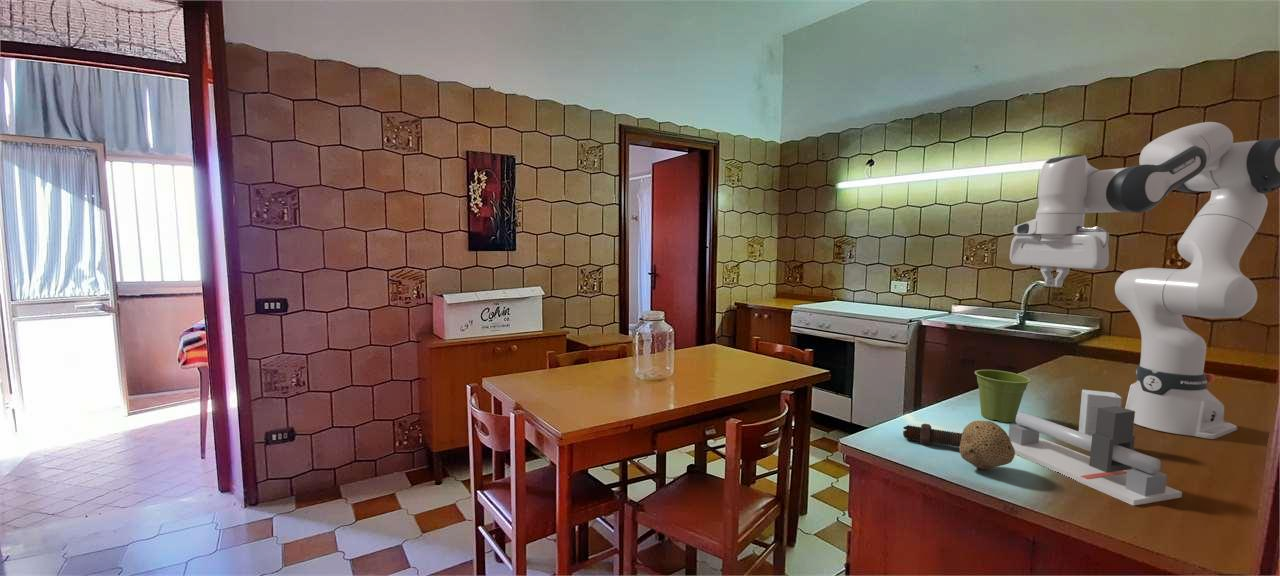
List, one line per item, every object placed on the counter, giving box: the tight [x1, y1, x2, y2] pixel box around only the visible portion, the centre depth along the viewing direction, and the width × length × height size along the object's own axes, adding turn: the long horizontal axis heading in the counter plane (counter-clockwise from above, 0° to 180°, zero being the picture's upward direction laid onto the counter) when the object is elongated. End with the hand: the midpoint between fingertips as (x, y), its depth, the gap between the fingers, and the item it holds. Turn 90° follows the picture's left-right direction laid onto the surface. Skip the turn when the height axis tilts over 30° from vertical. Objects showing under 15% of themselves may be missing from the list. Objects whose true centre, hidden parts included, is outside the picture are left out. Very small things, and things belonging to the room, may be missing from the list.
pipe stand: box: [1008, 411, 1183, 506], centre depth 105 cm, size 27×12×8 cm, turn 15°
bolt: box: [902, 423, 963, 449], centre depth 116 cm, size 6×5×15 cm
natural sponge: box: [959, 420, 1016, 471], centre depth 104 cm, size 9×9×10 cm
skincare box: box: [1078, 389, 1123, 436], centre depth 117 cm, size 6×4×12 cm
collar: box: [1089, 406, 1136, 473], centre depth 99 cm, size 3×6×11 cm, turn 105°
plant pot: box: [974, 369, 1032, 423], centre depth 134 cm, size 12×12×11 cm
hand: (1053, 286), depth 121 cm, fingers closed
